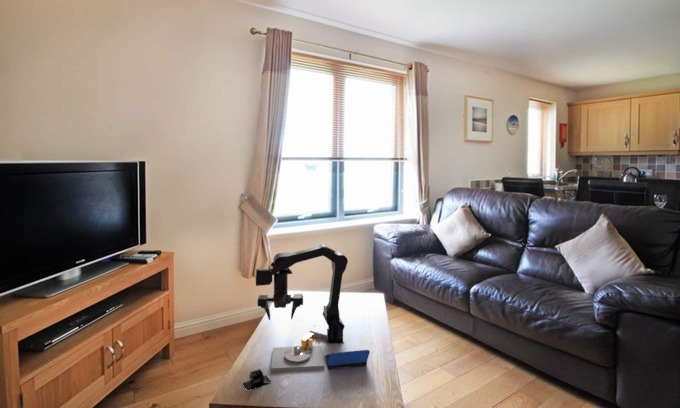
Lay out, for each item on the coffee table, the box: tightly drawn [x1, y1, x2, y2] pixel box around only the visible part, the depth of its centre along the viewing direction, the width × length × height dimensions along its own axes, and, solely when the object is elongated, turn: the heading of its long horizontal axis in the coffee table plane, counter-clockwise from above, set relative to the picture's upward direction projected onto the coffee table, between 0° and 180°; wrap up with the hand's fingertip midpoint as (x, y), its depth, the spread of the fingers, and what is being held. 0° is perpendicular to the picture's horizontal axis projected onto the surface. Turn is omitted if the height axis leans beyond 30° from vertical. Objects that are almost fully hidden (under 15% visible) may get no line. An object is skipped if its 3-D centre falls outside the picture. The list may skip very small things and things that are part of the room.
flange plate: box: [284, 332, 315, 363], centre depth 148 cm, size 14×14×5 cm
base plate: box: [270, 339, 325, 373], centre depth 146 cm, size 20×15×6 cm
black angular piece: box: [242, 368, 273, 391], centre depth 131 cm, size 12×7×5 cm, turn 123°
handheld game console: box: [324, 349, 371, 370], centre depth 143 cm, size 16×13×9 cm
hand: (280, 319), depth 155 cm, fingers open, 9 cm apart
